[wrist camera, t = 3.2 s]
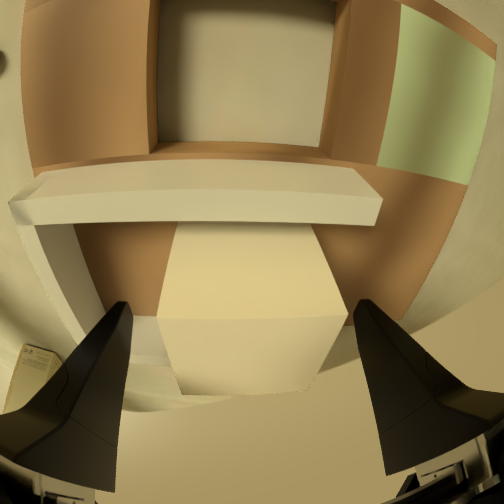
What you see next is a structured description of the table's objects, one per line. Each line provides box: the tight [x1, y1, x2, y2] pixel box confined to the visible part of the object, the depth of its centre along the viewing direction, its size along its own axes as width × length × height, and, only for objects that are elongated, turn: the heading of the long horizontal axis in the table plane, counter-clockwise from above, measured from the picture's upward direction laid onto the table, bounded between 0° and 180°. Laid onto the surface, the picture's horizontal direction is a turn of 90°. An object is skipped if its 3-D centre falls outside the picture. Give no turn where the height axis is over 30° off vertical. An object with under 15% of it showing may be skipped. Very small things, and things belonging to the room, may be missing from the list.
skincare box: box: [3, 344, 62, 414], centre depth 16 cm, size 6×4×12 cm
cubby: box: [8, 159, 383, 367], centre depth 11 cm, size 12×10×2 cm
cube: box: [156, 221, 348, 395], centre depth 10 cm, size 5×5×5 cm
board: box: [21, 0, 497, 326], centre depth 10 cm, size 20×18×2 cm
